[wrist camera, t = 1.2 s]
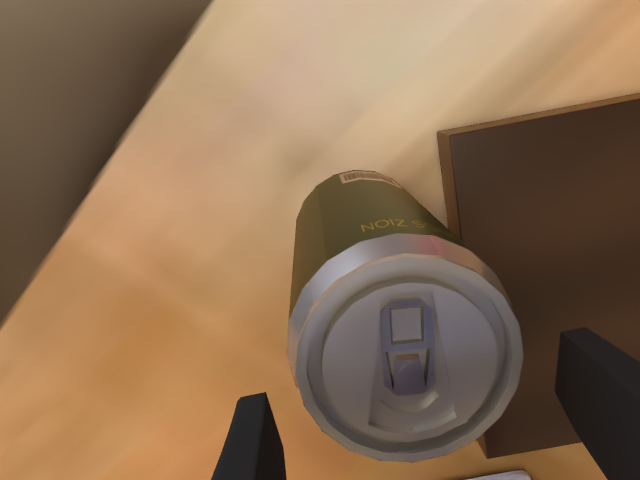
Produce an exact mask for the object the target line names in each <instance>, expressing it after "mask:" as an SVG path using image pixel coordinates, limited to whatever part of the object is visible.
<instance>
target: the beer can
mask: <svg viewBox="0 0 640 480" xmlns="http://www.w3.org/2000/svg"><path fill="white" fill-rule="evenodd" d="M287 357H288V361H289V364H290V368H291V371H292V375H293V378H294V382H295V385H296V386H297V388H298V389H299V390H300V393H301V397H302V400H303V404H304V406H305V408H306V409H307V411H308V412H309V413H310V415H311V416H312V418H313V419H314V420H315V422H316V423H317V425H318V426H319V427H320V429H321V430H322V431H323V432H324V433H325V434H327V435H328V436H329V437H331V438H332V439H334V440H335V441H336V442H338V443H339V444H340V445H342V446H343V447H345V448H346V449H347V450H349V451H352V452H355V453H358V454H361V455H364V456H367V457H370V458H373V459H376V460H379V461H393V462H418V461H422V460H427V459H431V458H436V457H440V456H445V455H448V454H450V453H451V452H453V451H455V450H457V449H459V448H461V447H463V446H465V445H467V444H469V443H471V442H473V441H474V440H476V439H478V438H479V437H480V436H481V435H482V434H483V433H484V432H485V431H486V430H487V429H488V428H489V427H490V426H491V425H492V424H493V423H495V422H496V421H497V420H498V419H499V418H500V417H501V416H502V414H503V412H504V410H505V409H506V407H507V405H508V403H509V402H510V400H511V398H512V396H513V395H514V393H515V391H516V389H517V387H518V382H519V378H520V373H521V368H522V363H523V358H524V354H523V347H522V340H521V333H520V326H519V323H518V321H517V319H516V318H515V316H514V314H513V311H512V305H511V301H510V299H509V297H508V295H507V293H506V292H505V290H504V288H503V286H502V284H501V283H500V281H499V279H498V277H497V275H496V273H495V272H494V271H493V270H492V269H491V268H490V267H489V266H487V265H486V264H485V263H484V262H483V261H482V260H481V259H480V258H479V257H478V256H477V255H475V254H474V253H473V252H472V251H471V250H470V249H469V248H468V247H467V246H466V245H465V244H464V243H462V242H461V241H460V240H459V239H458V238H457V237H456V236H455V235H454V234H453V233H452V232H451V231H449V230H448V229H447V228H446V227H445V226H444V225H443V224H442V223H441V222H440V221H439V220H437V219H436V218H435V217H434V216H433V215H432V214H431V213H430V212H429V211H428V210H427V209H426V208H424V207H423V206H422V205H421V204H420V203H419V202H418V201H417V200H416V199H415V198H414V197H412V196H411V195H410V194H409V193H408V192H407V191H406V190H405V189H404V188H402V187H401V186H400V185H399V184H398V183H397V182H396V181H394V180H393V179H391V178H389V177H387V176H384V175H382V174H379V173H377V172H375V171H362V170H352V171H348V172H344V173H340V174H336V175H333V176H332V177H330V178H328V179H327V180H325V181H323V182H322V183H320V184H319V185H317V186H316V187H315V188H314V190H313V191H312V192H311V193H310V194H309V195H308V197H307V198H306V199H305V200H304V202H303V205H302V207H301V209H300V212H299V214H298V217H297V220H296V233H295V246H294V259H293V272H292V285H291V298H290V310H289V324H288V339H287Z"/></svg>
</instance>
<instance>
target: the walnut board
mask: <svg viewBox="0 0 640 480" xmlns="http://www.w3.org/2000/svg"><path fill="white" fill-rule="evenodd" d="M437 139H438V147H439V155H440V164H441V172H442V180H443V188H444V196H445V205H446V213H447V221H448V229H449V231H451V232H452V233H453V234H454V235H455V236H456V237H457V238H458V239H459V240H460V241H461V242H462V243H464V244H465V245H466V246H467V247H468V248H469V249H470V250H471V251H472V252H473V253H474V254H475V255H477V256H478V257H479V258H480V259H481V260H482V261H483V262H484V263H485V264H486V265H487V266H489V267H490V268H491V269H492V270H493V271H494V272H495V273H496V275H497V277H498V279H499V281H500V283H501V284H502V286H503V288H504V290H505V292H506V293H507V295H508V297H509V299H510V301H511V305H512V311H513V314H514V316H515V318H516V319H517V321H518V323H519V326H520V333H521V340H522V347H523V354H524V358H523V363H522V368H521V373H520V378H519V382H518V387H517V389H516V391H515V393H514V395H513V396H512V398H511V400H510V402H509V403H508V405H507V407H506V409H505V410H504V412H503V414H502V416H501V417H500V418H499V419H498V420H497V421H496V422H495V423H493V424H492V425H491V426H490V427H489V428H488V429H487V430H486V431H485V432H484V433H483V434H482V435H481V436H480V437H479V438H478V439H477V440H478V442H479V444H480V446H481V448H482V450H483V452H484V454H485V456H486V458H487V459H489V458H495V457H501V456H506V455H512V454H518V453H523V452H529V451H535V450H540V449H546V448H552V447H557V446H563V445H569V444H574V443H580V442H582V441H581V439H580V438H579V436H578V435H577V433H576V432H575V430H574V428H573V426H572V425H571V423H570V421H569V419H568V417H567V415H566V413H565V411H564V409H563V407H562V405H561V403H560V401H559V399H558V397H557V395H556V393H555V381H556V371H557V362H558V352H559V342H560V332H563V331H567V330H572V329H577V328H582V327H586V328H588V329H590V330H591V331H593V332H594V333H596V334H597V335H599V336H601V337H602V338H604V339H605V340H607V341H608V342H610V343H611V344H613V345H614V346H616V347H617V348H619V349H620V350H622V351H624V352H625V353H627V354H628V355H630V356H631V357H633V358H634V359H636V360H637V361H639V362H640V93H637V94H631V95H626V96H621V97H616V98H610V99H605V100H600V101H595V102H590V103H584V104H579V105H574V106H569V107H564V108H558V109H553V110H548V111H543V112H537V113H532V114H527V115H522V116H517V117H511V118H506V119H501V120H496V121H490V122H485V123H480V124H475V125H470V126H464V127H459V128H454V129H449V130H444V131H438V132H437Z"/></svg>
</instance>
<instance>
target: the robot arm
mask: <svg viewBox="0 0 640 480" xmlns="http://www.w3.org/2000/svg"><path fill="white" fill-rule="evenodd" d="M555 393H556V395H557V397H558V399H559V401H560V403H561V405H562V407H563V409H564V411H565V413H566V415H567V417H568V419H569V421H570V423H571V425H572V426H573V428H574V430H575V432H576V433H577V435H578V436H579V438H580V439H581V441H582V442H583V444H584V445H585V447H586V448H587V450H588V451H589V453H590V454H591V456H592V457H593V459H594V460H595V462H596V463H597V465H598V466H599V467H600V469H601V470H602V472H603V473H604V475H605V476H606V478H607V479H608V480H640V362H639V361H637V360H636V359H634V358H633V357H631V356H630V355H628V354H627V353H625V352H624V351H622V350H620V349H619V348H617V347H616V346H614V345H613V344H611V343H610V342H608V341H607V340H605V339H604V338H602V337H601V336H599V335H597V334H596V333H594V332H593V331H591V330H590V329H588V328H586V327H582V328H577V329H572V330H567V331H563V332H560V342H559V352H558V362H557V371H556V381H555ZM211 480H286V470H285V460H284V451H283V445H282V442H281V439H280V436H279V432H278V429H277V426H276V423H275V420H274V417H273V413H272V410H271V407H270V404H269V401H268V398H267V394H266V392H264V393H259V394H255V395H250V396H245V397H241V398H240V399H239V400H238V401H237V405H236V409H235V412H234V416H233V419H232V423H231V426H230V429H229V432H228V435H227V438H226V441H225V444H224V447H223V450H222V452H221V455H220V458H219V460H218V463H217V465H216V468H215V471H214V473H213V476H212V478H211ZM465 480H531V478H530V476H529V474H528V473H527V472H526V471H523V470H517V471H511V472H505V473H499V474H494V475H488V476H482V477H477V478H471V479H465Z"/></svg>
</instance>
